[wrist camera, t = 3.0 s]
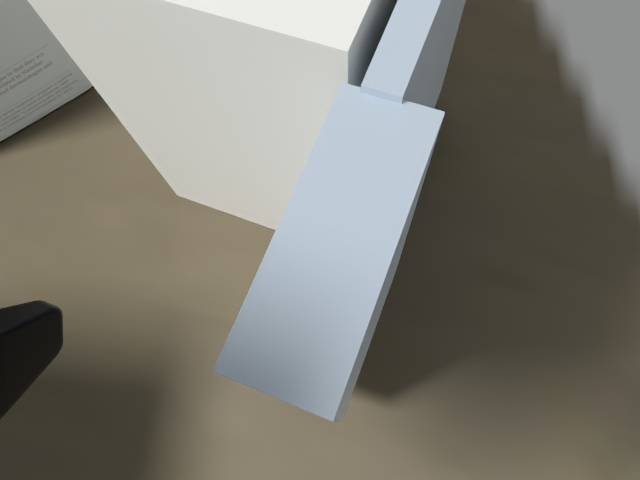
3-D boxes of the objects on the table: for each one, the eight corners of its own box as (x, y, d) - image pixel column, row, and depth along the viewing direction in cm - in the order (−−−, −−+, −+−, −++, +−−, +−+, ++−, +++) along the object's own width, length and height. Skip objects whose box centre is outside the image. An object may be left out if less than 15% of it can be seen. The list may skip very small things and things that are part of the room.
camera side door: (342, 420, 17) (332, 422, 7) (291, 398, 18) (208, 370, 7) (458, 96, 22) (556, -197, 11) (414, 84, 22) (471, -211, 12)
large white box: (351, 256, 20) (353, 27, 8) (177, 195, 22) (-31, -75, 10) (420, 80, 23) (494, -280, 11) (261, 36, 24) (179, -325, 13)
